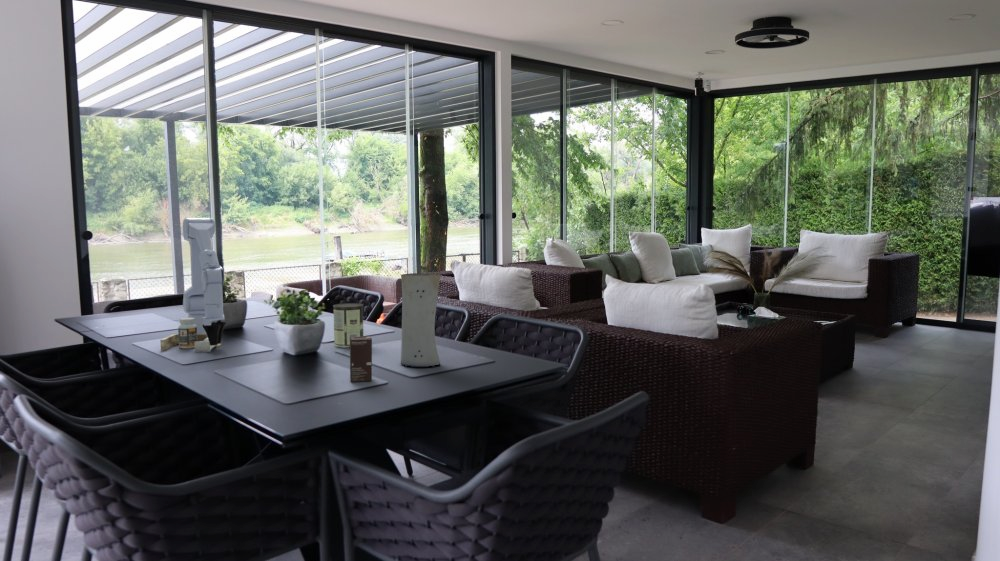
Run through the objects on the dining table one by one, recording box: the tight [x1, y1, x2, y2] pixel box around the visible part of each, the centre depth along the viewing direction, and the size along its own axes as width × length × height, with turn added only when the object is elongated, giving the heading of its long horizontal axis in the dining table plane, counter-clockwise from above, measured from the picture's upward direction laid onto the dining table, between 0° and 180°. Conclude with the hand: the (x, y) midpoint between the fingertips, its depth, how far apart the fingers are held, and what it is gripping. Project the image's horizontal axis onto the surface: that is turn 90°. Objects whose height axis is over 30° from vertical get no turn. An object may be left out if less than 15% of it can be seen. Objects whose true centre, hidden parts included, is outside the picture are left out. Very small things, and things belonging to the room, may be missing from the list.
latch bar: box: [203, 337, 217, 350], centre depth 247 cm, size 10×3×3 cm, turn 8°
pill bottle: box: [177, 317, 197, 350], centre depth 247 cm, size 6×6×10 cm
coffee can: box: [332, 302, 364, 349], centre depth 253 cm, size 10×10×14 cm
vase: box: [400, 272, 442, 368], centre depth 223 cm, size 13×14×28 cm
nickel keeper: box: [194, 341, 212, 353], centre depth 242 cm, size 4×5×3 cm
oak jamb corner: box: [160, 333, 208, 351], centre depth 248 cm, size 11×12×4 cm
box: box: [349, 336, 373, 383], centre depth 202 cm, size 6×4×12 cm
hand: (215, 344), depth 244 cm, fingers closed on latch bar, 3 cm apart
